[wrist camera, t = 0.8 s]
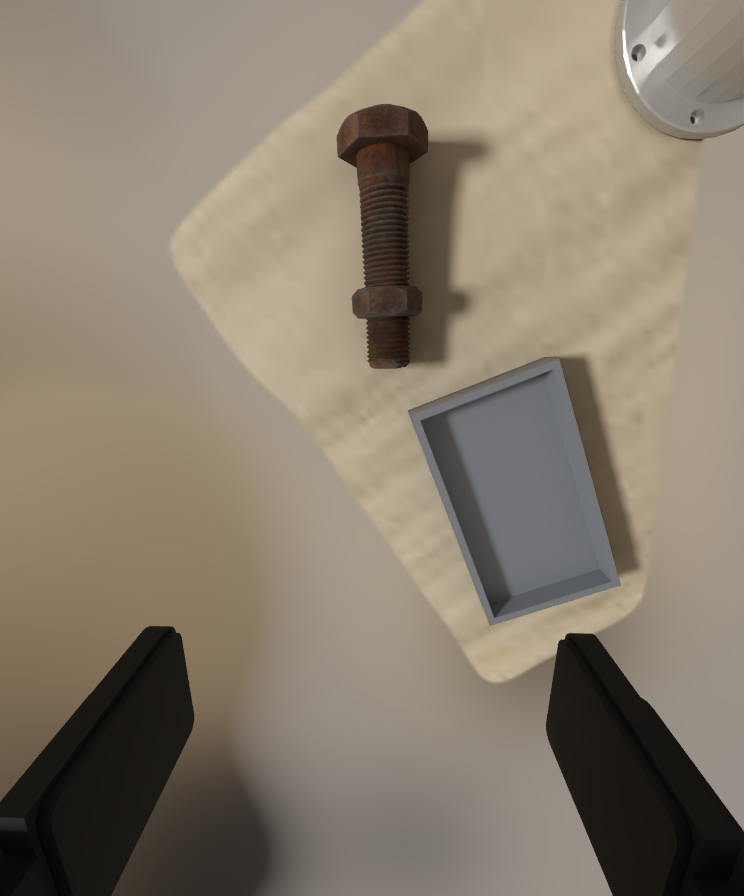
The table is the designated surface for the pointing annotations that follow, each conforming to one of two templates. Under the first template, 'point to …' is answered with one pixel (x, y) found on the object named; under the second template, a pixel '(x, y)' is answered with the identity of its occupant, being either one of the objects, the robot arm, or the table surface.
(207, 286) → the table surface
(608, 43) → the table surface
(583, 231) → the table surface
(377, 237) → the bolt
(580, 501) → the parts tray
